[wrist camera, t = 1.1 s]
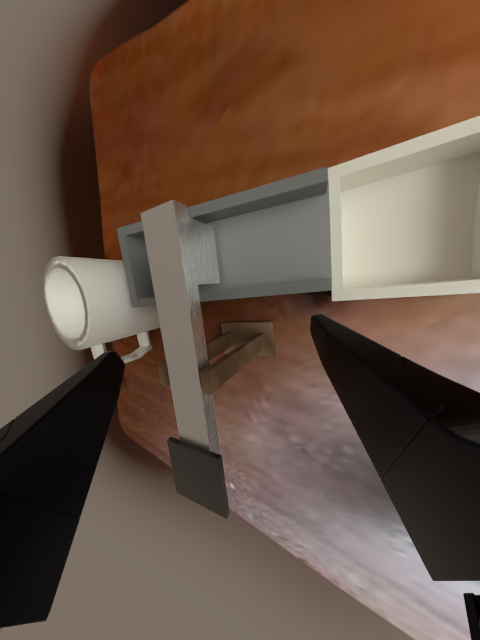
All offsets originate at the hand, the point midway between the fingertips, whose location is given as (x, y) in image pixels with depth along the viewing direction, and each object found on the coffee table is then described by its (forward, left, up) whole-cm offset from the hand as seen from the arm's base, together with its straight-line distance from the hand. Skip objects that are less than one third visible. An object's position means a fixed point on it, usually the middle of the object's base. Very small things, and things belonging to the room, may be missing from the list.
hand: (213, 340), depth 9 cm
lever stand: (-4, +5, -14) cm, 15 cm away
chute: (+5, +5, -14) cm, 15 cm away
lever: (-3, +5, -8) cm, 10 cm away
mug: (+1, +22, -14) cm, 26 cm away
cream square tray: (+5, -9, -14) cm, 17 cm away
